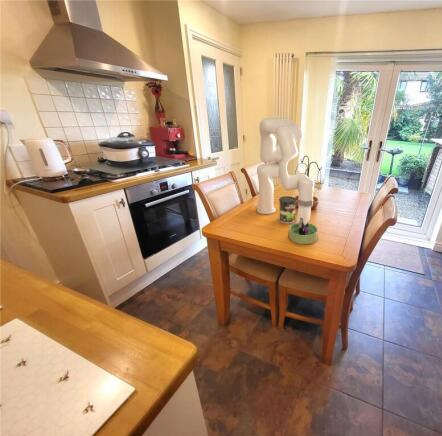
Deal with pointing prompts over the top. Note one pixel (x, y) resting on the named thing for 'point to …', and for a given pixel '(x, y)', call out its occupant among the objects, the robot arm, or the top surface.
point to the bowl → (303, 239)
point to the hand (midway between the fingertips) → (303, 233)
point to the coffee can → (287, 209)
